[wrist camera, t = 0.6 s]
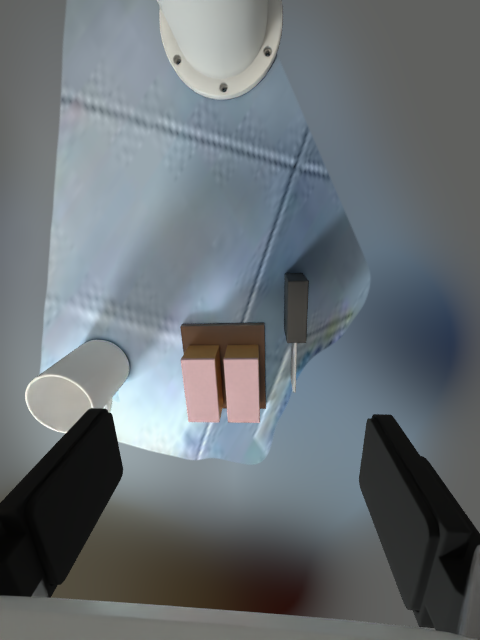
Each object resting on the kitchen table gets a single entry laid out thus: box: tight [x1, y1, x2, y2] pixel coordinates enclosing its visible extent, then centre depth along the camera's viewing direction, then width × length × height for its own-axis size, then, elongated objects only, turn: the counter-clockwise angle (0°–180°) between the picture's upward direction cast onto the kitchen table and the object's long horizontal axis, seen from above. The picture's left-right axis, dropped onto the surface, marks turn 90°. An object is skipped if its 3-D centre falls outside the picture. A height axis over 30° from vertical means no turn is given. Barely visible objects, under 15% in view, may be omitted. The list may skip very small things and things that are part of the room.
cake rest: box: [181, 345, 223, 422], centre depth 41 cm, size 10×4×4 cm, turn 2°
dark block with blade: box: [284, 273, 309, 392], centre depth 38 cm, size 16×2×5 cm, turn 2°
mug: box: [25, 340, 129, 433], centre depth 40 cm, size 9×12×11 cm
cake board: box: [181, 323, 266, 409], centre depth 43 cm, size 14×12×1 cm
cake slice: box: [224, 345, 260, 423], centre depth 41 cm, size 10×4×4 cm, turn 2°
